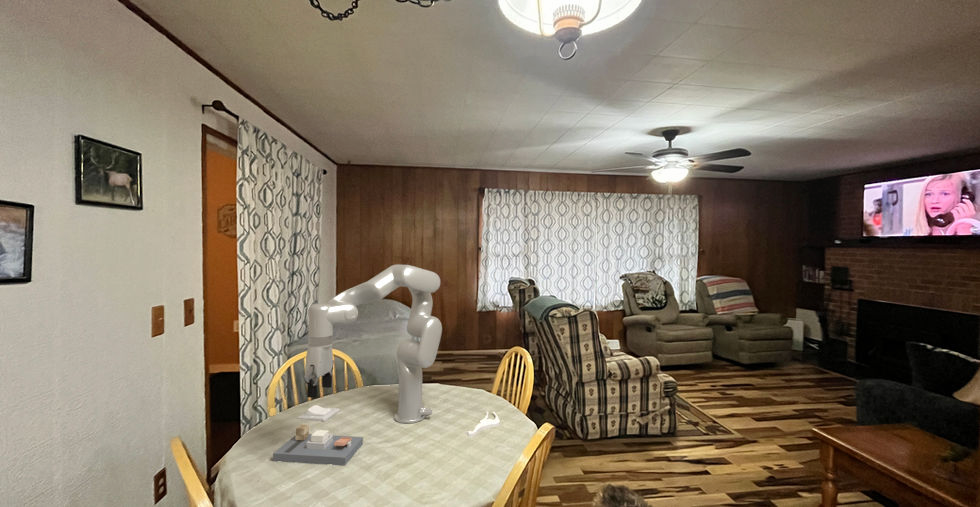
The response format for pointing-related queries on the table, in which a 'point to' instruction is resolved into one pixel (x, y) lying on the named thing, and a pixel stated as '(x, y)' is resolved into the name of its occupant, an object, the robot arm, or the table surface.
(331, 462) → the switch panel
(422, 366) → the robot arm
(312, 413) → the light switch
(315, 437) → the push button
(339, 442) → the rocker paddle
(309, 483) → the table surface
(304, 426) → the slider knob
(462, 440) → the table surface
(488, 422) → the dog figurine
